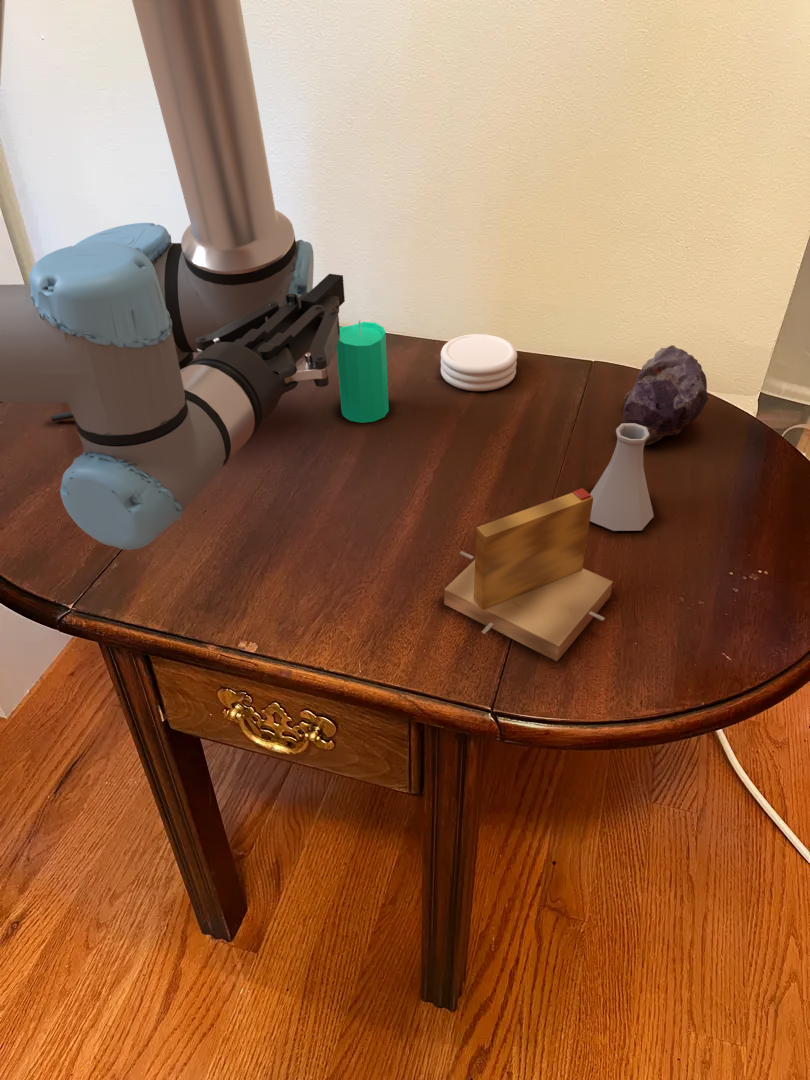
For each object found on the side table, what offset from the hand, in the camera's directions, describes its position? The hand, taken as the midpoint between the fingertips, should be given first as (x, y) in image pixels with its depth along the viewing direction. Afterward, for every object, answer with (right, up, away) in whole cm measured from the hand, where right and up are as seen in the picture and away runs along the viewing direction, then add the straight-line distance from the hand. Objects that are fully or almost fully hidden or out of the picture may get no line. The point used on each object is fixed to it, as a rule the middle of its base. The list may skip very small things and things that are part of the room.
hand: (337, 287), depth 84 cm
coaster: (+17, -4, +27) cm, 32 cm away
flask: (+29, -23, +4) cm, 37 cm away
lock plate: (+18, -31, -6) cm, 37 cm away
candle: (+2, -9, +21) cm, 23 cm away
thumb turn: (+18, -29, -7) cm, 35 cm away
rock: (+37, -12, +16) cm, 42 cm away
